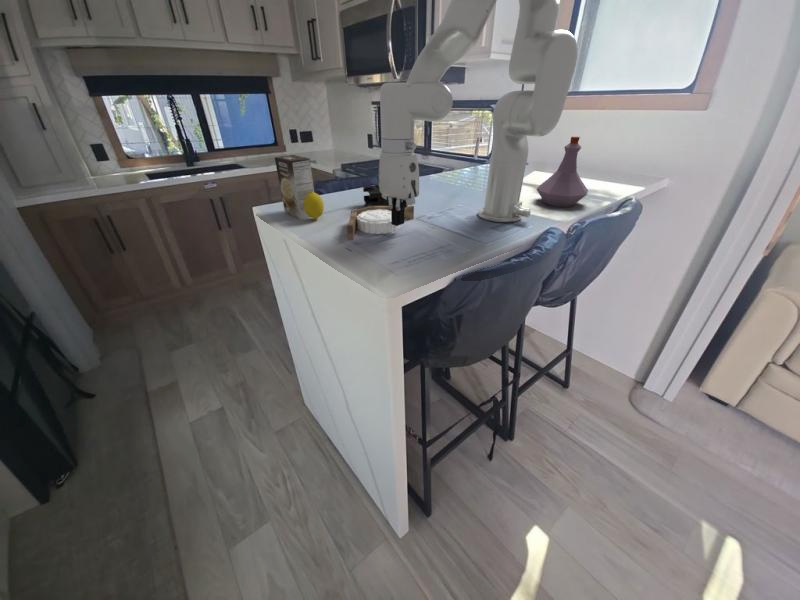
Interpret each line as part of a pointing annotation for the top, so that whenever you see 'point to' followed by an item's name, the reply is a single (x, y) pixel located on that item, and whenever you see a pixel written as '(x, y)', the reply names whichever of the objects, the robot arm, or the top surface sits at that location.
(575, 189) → the flask
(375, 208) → the centring jig
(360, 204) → the top surface
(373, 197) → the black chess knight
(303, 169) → the coffee box
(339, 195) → the top surface
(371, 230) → the mooncake
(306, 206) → the lemon
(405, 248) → the top surface
